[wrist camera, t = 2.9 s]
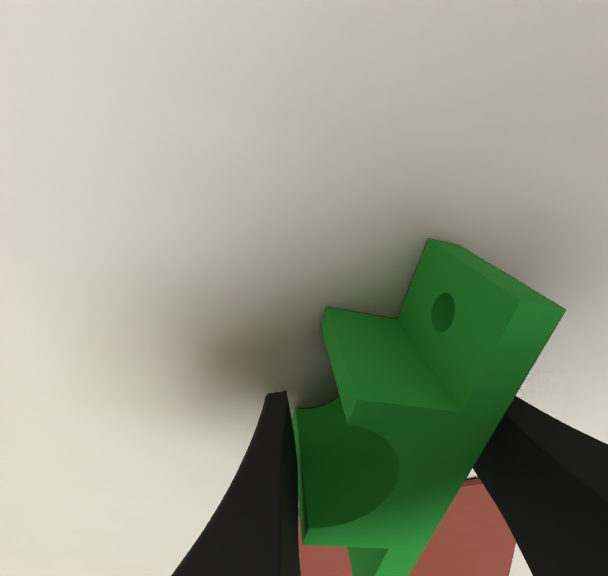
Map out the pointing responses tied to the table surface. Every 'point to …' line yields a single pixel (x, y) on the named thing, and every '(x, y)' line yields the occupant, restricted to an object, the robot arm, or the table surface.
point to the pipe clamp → (413, 406)
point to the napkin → (440, 542)
